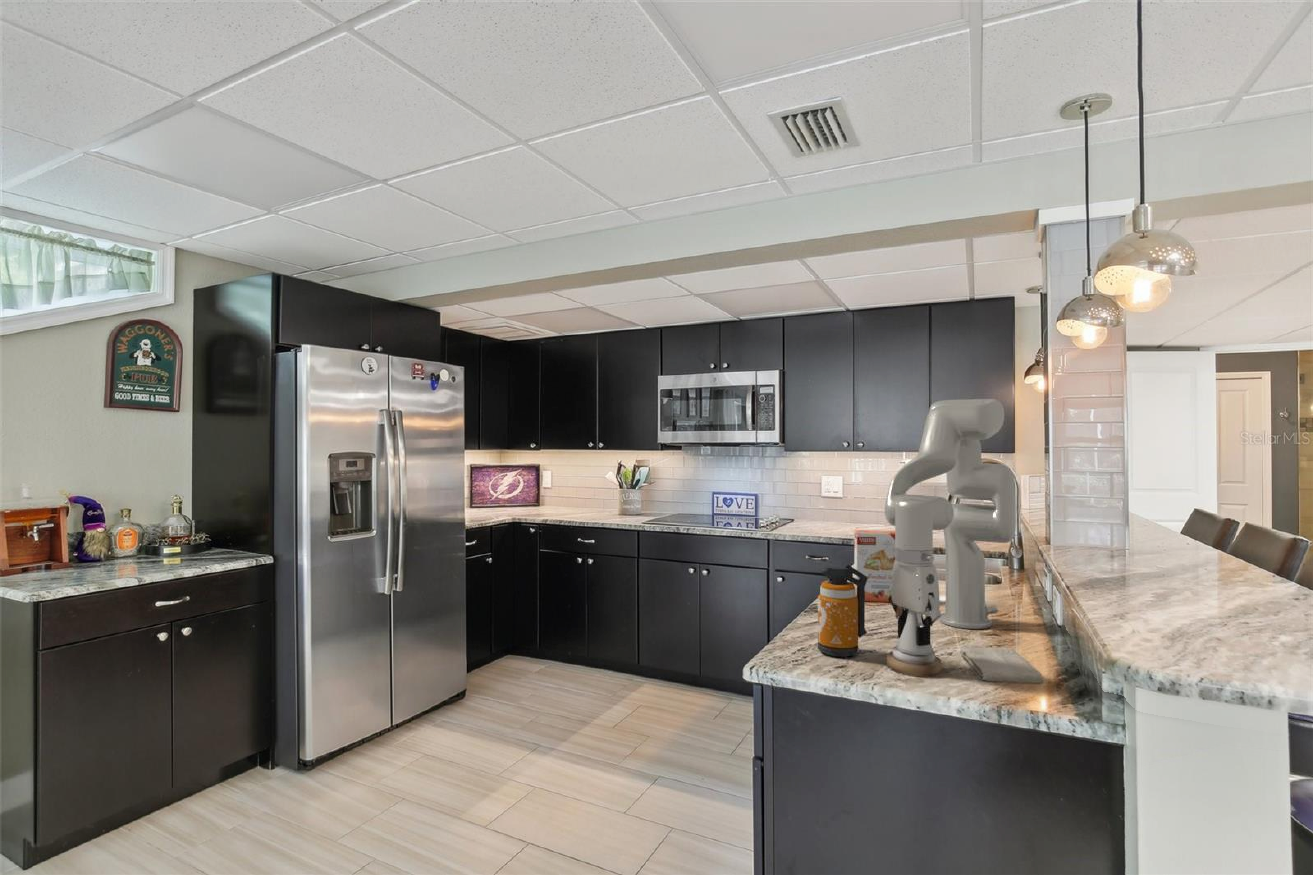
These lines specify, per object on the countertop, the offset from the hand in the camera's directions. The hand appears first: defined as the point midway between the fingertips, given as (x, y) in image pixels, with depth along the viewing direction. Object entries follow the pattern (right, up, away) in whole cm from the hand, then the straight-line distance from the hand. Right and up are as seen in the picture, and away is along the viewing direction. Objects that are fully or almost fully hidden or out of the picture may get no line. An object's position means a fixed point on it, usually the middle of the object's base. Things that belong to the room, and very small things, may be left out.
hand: (913, 640), depth 145 cm
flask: (0, -3, 0) cm, 3 cm away
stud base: (0, -6, 0) cm, 6 cm away
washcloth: (+18, -7, 0) cm, 19 cm away
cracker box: (+12, -6, +58) cm, 60 cm away
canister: (-13, -6, +10) cm, 17 cm away
